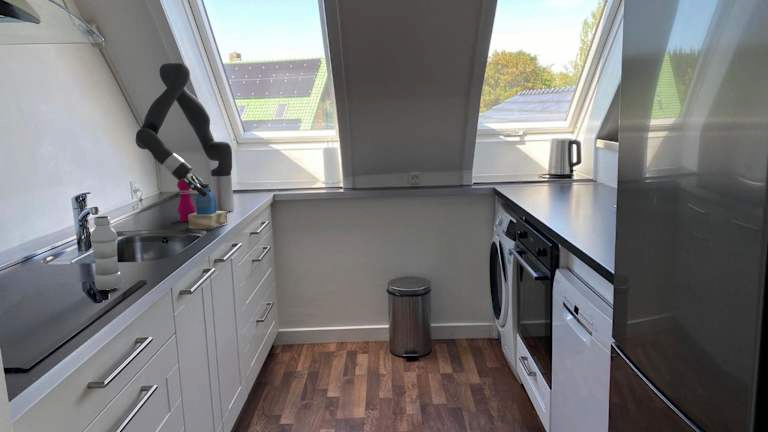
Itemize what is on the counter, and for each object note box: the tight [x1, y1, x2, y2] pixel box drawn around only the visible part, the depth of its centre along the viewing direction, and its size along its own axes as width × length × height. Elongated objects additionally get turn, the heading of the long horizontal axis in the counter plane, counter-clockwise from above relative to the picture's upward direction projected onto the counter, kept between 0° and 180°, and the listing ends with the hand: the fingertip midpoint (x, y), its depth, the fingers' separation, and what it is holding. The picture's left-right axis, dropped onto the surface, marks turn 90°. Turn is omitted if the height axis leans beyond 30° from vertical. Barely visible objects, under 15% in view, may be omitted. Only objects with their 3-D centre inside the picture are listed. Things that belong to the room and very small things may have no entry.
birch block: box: [188, 211, 228, 230], centre depth 234 cm, size 11×11×6 cm
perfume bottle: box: [195, 183, 217, 214], centre depth 232 cm, size 6×6×12 cm
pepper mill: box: [176, 179, 196, 223], centre depth 245 cm, size 7×7×20 cm
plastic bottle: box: [89, 215, 123, 291], centre depth 149 cm, size 6×7×20 cm
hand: (207, 193), depth 232 cm, fingers open, 8 cm apart
